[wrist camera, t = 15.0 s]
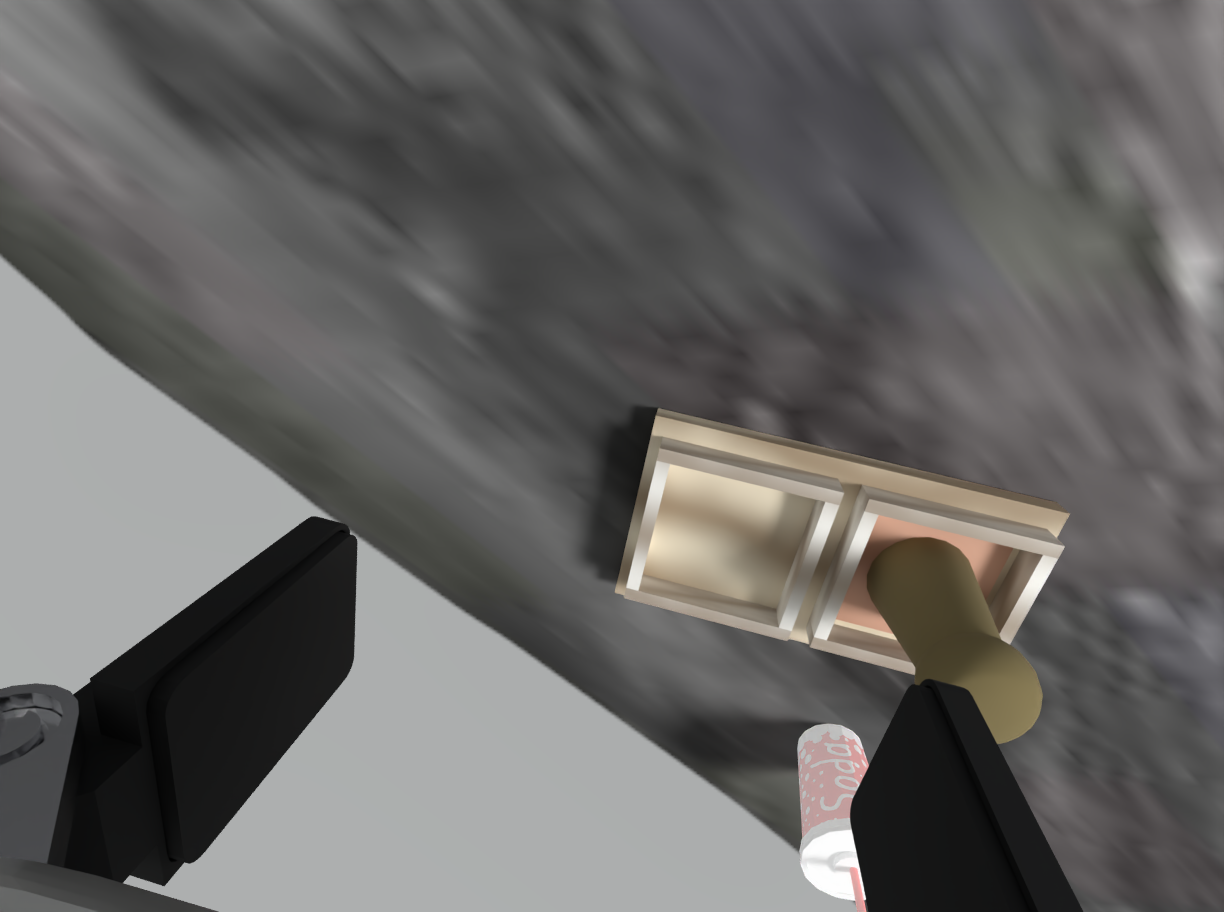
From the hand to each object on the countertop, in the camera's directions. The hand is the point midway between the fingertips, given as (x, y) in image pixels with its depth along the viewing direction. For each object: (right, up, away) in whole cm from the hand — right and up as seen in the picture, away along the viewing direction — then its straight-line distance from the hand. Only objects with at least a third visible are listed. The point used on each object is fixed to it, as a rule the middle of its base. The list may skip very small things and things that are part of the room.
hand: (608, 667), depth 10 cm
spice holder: (+13, -2, +29) cm, 32 cm away
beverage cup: (+16, -18, +35) cm, 43 cm away
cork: (+19, -4, +27) cm, 33 cm away
